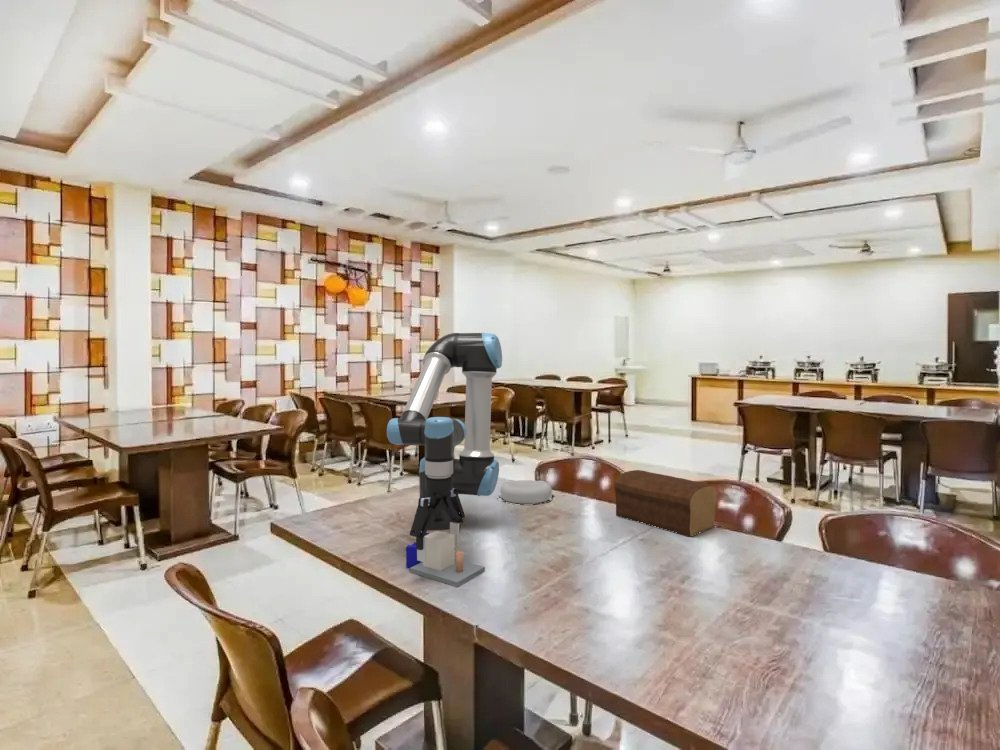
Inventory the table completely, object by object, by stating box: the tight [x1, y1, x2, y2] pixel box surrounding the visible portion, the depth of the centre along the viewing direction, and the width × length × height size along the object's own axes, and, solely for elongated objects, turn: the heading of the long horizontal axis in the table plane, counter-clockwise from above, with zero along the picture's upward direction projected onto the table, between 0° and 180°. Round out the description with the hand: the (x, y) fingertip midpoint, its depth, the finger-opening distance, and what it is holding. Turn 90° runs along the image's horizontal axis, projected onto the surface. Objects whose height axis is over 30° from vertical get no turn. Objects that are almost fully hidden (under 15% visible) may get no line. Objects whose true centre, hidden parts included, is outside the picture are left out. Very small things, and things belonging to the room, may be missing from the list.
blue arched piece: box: [405, 532, 430, 569], centre depth 158 cm, size 12×4×6 cm, turn 171°
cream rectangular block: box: [423, 530, 456, 571], centre depth 152 cm, size 6×6×8 cm
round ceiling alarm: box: [500, 479, 553, 506], centre depth 224 cm, size 25×25×6 cm
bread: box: [613, 469, 718, 537], centre depth 195 cm, size 18×30×16 cm, turn 41°
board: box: [409, 550, 486, 588], centre depth 150 cm, size 12×16×6 cm
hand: (438, 553), depth 152 cm, fingers open, 13 cm apart
